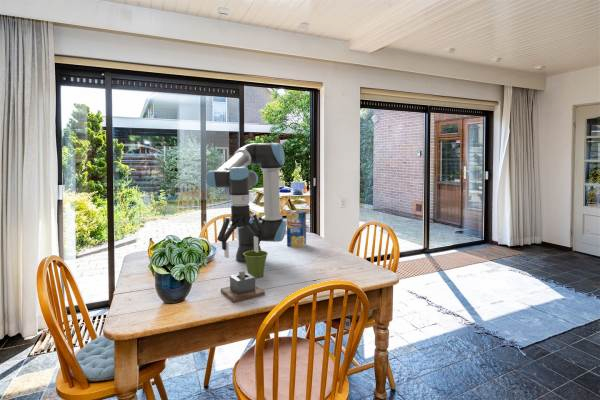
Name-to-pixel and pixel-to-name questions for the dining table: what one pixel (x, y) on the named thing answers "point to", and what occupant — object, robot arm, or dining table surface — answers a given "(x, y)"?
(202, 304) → the dining table surface
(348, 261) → the dining table surface
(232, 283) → the grey square block
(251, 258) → the plant pot
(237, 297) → the stand
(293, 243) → the beverage box
